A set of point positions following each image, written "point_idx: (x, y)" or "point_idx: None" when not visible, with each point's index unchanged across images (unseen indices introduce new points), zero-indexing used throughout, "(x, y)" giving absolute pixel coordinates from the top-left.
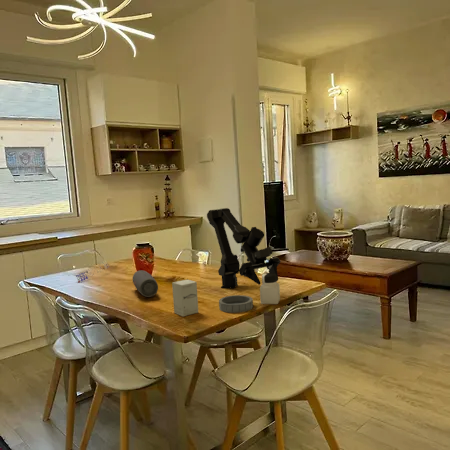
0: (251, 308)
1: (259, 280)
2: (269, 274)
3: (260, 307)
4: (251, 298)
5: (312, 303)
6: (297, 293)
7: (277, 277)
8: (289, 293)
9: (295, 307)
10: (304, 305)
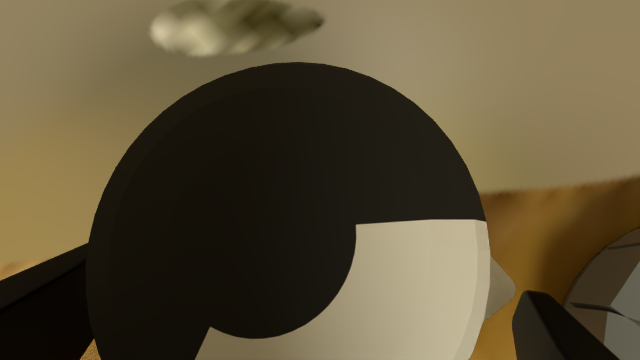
0: (635, 229)
1: (555, 335)
2: (330, 144)
3: (527, 205)
4: (627, 305)
5: (181, 13)
6: (17, 266)
7: (79, 253)
8: None
9: (321, 22)
10: (247, 16)
